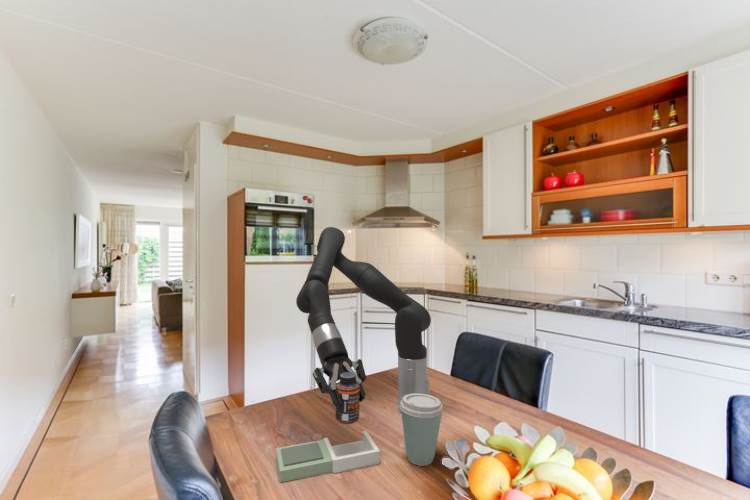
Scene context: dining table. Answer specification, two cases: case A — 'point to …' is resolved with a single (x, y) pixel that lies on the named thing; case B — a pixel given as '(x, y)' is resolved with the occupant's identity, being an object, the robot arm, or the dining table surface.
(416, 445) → the disposable coffee cup
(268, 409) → the dining table surface
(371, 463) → the chute bracket
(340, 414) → the supplement bottle
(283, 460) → the green rectangular block
